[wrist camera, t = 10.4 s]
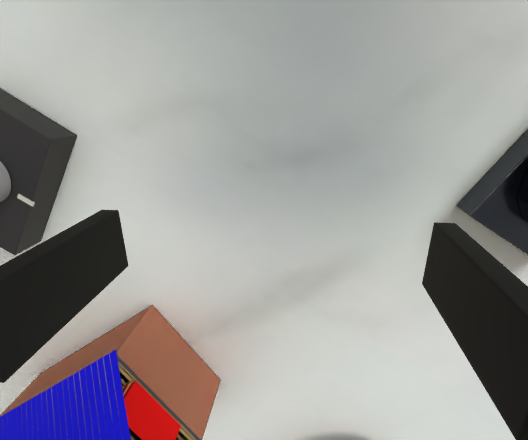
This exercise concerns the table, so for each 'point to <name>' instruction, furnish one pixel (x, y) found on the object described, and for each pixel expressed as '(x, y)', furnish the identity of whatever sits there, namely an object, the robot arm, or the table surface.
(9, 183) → the timer dial
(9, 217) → the timer panel
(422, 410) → the table surface
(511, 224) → the button block
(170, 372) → the house
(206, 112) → the table surface
